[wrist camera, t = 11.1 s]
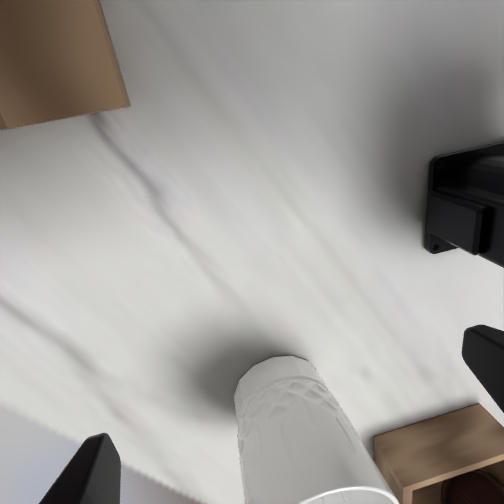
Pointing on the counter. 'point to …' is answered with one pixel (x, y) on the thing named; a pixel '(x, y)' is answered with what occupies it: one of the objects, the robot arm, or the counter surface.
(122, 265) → the counter surface
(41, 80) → the walnut square frame
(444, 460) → the walnut watch frame
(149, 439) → the counter surface
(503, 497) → the dark brown rounded piece
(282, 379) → the white cup
